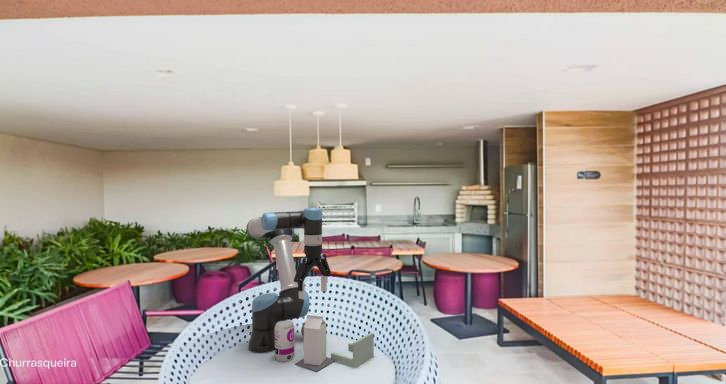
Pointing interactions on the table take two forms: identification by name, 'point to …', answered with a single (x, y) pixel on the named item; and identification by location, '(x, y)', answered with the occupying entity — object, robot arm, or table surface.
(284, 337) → the supplement can
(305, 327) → the milk carton
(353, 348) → the rack
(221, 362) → the table surface
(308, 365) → the mat
